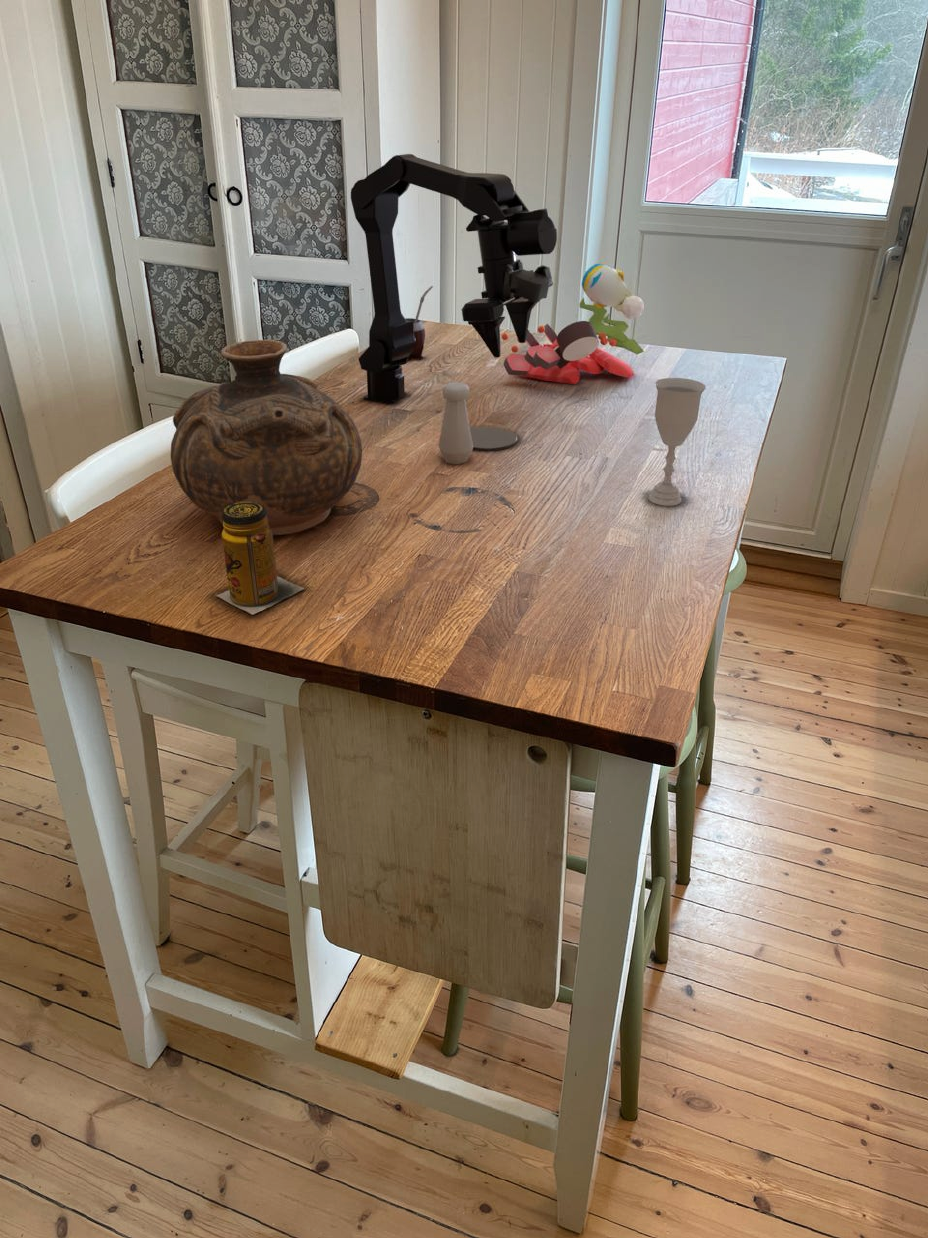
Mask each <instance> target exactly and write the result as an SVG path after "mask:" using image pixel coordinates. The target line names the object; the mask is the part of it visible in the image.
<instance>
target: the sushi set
mask: <svg viewBox="0 0 928 1238" xmlns="http://www.w3.org/2000/svg"><path fill="white" fill-rule="evenodd" d="M584 272H585V273H584V275H583V277H582V281H581V288H582V290H583V292H584V293H585V295H586V296H587V298H588V299H589V300H590V301H591V302H593V304H587V303H586V302H585V297H582V299H581V300H580V302H579V308H580V309H583V310H587V311H591V312H593V314H592V315H591V316H590V318H589V319H588V320H578V321H575V322H572V323H569V324H568V325H566V326H565V327H564V328H562V329H561V330H560V331H559V332H558V334H557V333H556V331H554V329H553V328H552V327H551V326H550V324H549V323H546V324H545V325H539V326H538V327H537V332H538V333H539V334H543V333H544V335H545V336H546V338H547V339H548V341H549V342H550V343H546V344H545V343H544V344H543V345H542V344H540V343H539V341H538V340H537V339H536V337H535V336H534V335H533V333H532V332H530V330H529V329H528V331H527V337H526V342H525V343H527V345H528V346H529V347H528V349H527V350H526V352H525V354H521V353H517V352H519V347H518V345H512V346H511V349H510V351H511V352H512V353H510V354H509V355H507V356H506V358H505V359H504V360H503V367H504V369H505V371H506V373H507V375H509V376H521V377H526V378H531V379H535V380H539V381H546V382H554V383H561V384H562V383H563V384H570V385H576V384H577V383H578V382H579V381H580V374H581V371H583V372H585V373H587V374H594V375H599V374H602V373H604V371H605V370H606V371H607V372H609V373H610V374H613V375H616V376H620V377H624V378H631V377H634V376H635V373H634V370H633V368H632V366H630V365H629V364H628V363H627V362H625V361H623V360H622V359H620V358H618V357H616V356H615V355H614V354H611V353H609V352H608V351H605V350H604V349H602V348H600V347H599V345H600V344H601V345H602V346H607V344H608V345H609V346H611V347H612V348H613V347H616V348H622V349H625V350H627V351H629V352H631V353H633V354H635V355H639V354H642V353H644V352H645V351H644V349H643V348H642V346H640V345H639V343H638V342H637V341H636V340H635V339H632V338H628V336H627V335H626V334H625V332H626V331H627V330H628V329H629V325H628V323H627V322H626V321H624V320H614V319H610V318H609V317H610V313H607V312H608V310H607V309H606V307H610V308H613V309H614V310H616V311H617V312H620V313H622V315H623V316H624V317H625V318H627V319H629V320H635V319H637V318H639V317H641V316H642V314H643V313H644V311H645V304H644V301H643V299H642V298H641V297H639V296H637V295H634V293H633V292H632V291H631V290H630V289H628V288H627V285H626V283H625V277H624V276H625V275H624V273H623V271H621V270H620V269H616V268H614V267H612V266H609V265H607V264H603V263H595V264H593V265H592V266H590V267H589V268H588V269H587V270H584ZM597 335H598V336H597ZM516 338H517V337H516ZM501 339H502V340H503V341H507V340H508V339H509V334H508V333H507V332H503V333H502V334H501ZM599 340H600V341H599ZM516 341H517V342H518V344H519V343H520V342H519V340H518V338H517V340H516ZM520 344H521V343H520Z"/></svg>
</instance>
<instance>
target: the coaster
mask: <svg viewBox="0 0 928 1238" xmlns="http://www.w3.org/2000/svg"><path fill="white" fill-rule="evenodd" d="M470 432H471V437H472V442H473V450H474V451H481V452H482V451H483V452H493V451H501V450H502V451H503V450H506V449H509V448H511V447H513V446H515V445H516V444H517V442H518V436H517V435H516V433H515V432H513V431H511V430H509V429H507V428H502V427H498V426H489V425H488V426H487V425H486V426H473V427H471V426H470ZM473 450H472V451H473Z"/></svg>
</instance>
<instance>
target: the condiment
mask: <svg viewBox="0 0 928 1238" xmlns="http://www.w3.org/2000/svg"><path fill="white" fill-rule="evenodd" d="M266 514H267V510H266V509H265V507H264V506H263V505H261V504H259V503H256V502H238V503H234V504H231V505H229V506H227V507H226V508H225V509H224V510H223V511H222V518H223V524H222V527H223V530H222V532H221V541H222V542H221V543H222V547H223V556H224V562H225V569H226V570H225V571H226V577H227V585H228V590H226V591H223V592H222V593H219V594H215V596H216V597H217V598H219V599H221V600H223V601H225V602H226V603H228V604H230V605H232V606H234V607H236V608H238V609H240V610H242V611H245V612H247V613H248V614H250V615H252V616H253V615H256V614H257V613H259V612H262V611H264V610H266V609H268V608H271V607H273V606H274V605H276V604H278V603H279V602H282V601H283V600H284V599H287V598H290V597H292V596H294V595H296V594H297V593H298V592H300V591H303V590H305V589H306V588H305V587H304V586H300V585H297V584H296V583H293V582H290V581H288V580H286V579H283V578H282V577H280V576H279V575H278V574H277V573H278V572H277V563H276V556H275V555H276V554H275V546H274V536H273V535H272V529H271V527H270V526H269V525H268V519H267V516H266Z"/></svg>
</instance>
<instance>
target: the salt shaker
mask: <svg viewBox="0 0 928 1238" xmlns="http://www.w3.org/2000/svg"><path fill="white" fill-rule="evenodd" d="M469 387H470V386H468V385H467V383H465V382H460V381H452V382H451V381H450V382H447V383H446V384H444V386H443V387H442V395H443V398H444V400H445V406H444V411H443V416H442V421H441V422H442V423H441V428H440V434H439V440H438V450H439V452H440V455H441V456H442V459H443V460H444V462H446V464H452V465H460V464H465V463H467V461H468V459H469V457H470V455H471V454H472V452H473V442H472V437H471V432H470V428H471V426H470V421H469V415H468V409H467V403H466V400H468V399H469V398H470V388H469Z"/></svg>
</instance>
